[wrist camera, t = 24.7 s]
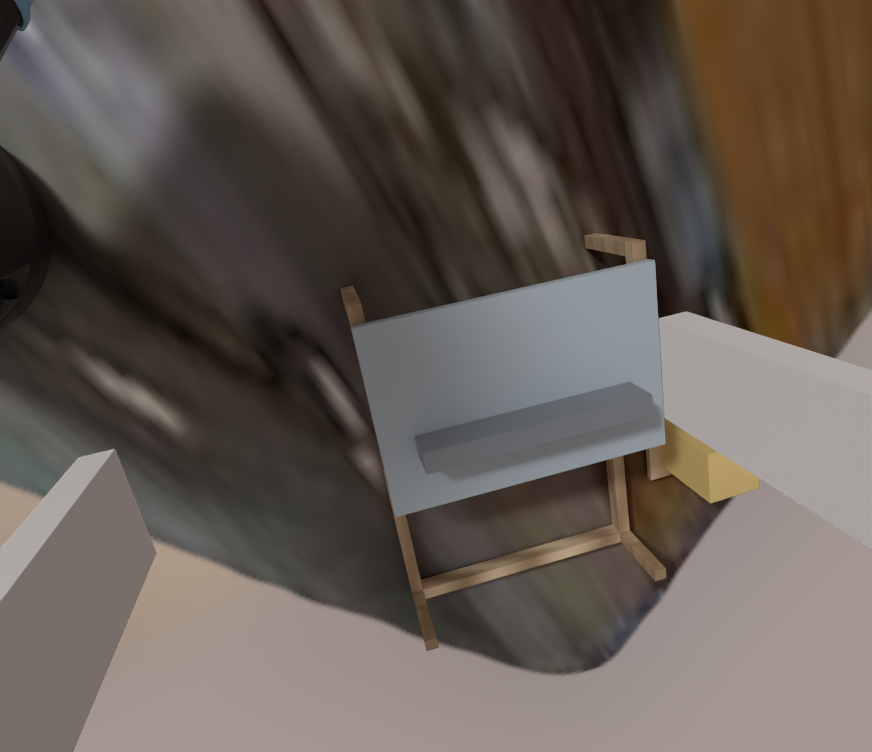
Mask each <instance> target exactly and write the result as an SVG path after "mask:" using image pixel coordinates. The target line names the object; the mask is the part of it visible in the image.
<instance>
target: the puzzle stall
mask: <svg viewBox="0 0 872 752" xmlns="http://www.w3.org/2000/svg"><path fill="white" fill-rule="evenodd" d="M584 237H585V247H586V248H588V249H593V250H598V251H603V252H608V253H612V254H617V255H622V256H626V264H629V263H634V262H638V261H643V260H646V246H645V240H640V239H633V238H626V237H619V236H612V235H605V234H598V233H594V234H590V235H585V236H584ZM340 291H341V295H342V299H343V303H344V306H345V309H346V312H347V315H348V319H349V323H350V327H351V326H353V325H358V324H362V323H365V318H364V314H363V309H362V305H361V302H360V300H359V297H358V295H357V293H356V291H355V289H354V287H353V286H348V287H343V288H340ZM351 332H352V330H351ZM352 336H353V334H352ZM353 340H354V339H353ZM354 344H355V343H354ZM355 349H356V347H355ZM356 353H357V351H356ZM357 357H358V356H357ZM358 361H359V360H358ZM359 366H360V364H359ZM360 370H361V368H360ZM361 374H362V373H361ZM362 378H363V377H362ZM363 383H364V381H363ZM364 387H365V386H364ZM365 391H366V390H365ZM366 395H367V394H366ZM367 400H368V398H367ZM368 404H369V403H368ZM369 408H370V407H369ZM370 412H371V411H370ZM371 417H372V415H371ZM372 421H373V420H372ZM373 425H374V424H373ZM374 429H375V428H374ZM375 434H376V432H375ZM376 438H377V437H376ZM377 442H378V441H377ZM378 446H379V445H378ZM379 451H380V449H379ZM380 455H381V454H380ZM380 460H381V465H382V469H383V473H384V477H385V482H386V486H387V490H388V494H389V498H390V503H391V507H392V511H393V515H394V520H395V524H396V528H397V532H398V537H399V541H400V545H401V549H402V554H403V558H404V562H405V566H406V570H407V575H408V579H409V583H410V587H411V592H412V596H413V599H414V603H415V607H416V611H417V615H418V619H419V623H420V626H421V630H422V634H423V638H424V642H425V646H426V649H427V651H428V650H432V649H435V648H438V647H439V646H438V641H437V637H436V633H435V630H434V626H433V623H432V620H431V616H430V613H429V609H428V606H427V602H426V599H428V598H431V597H435V596H438V595H441V594H445V593H448V592H452V591H455V590H459V589H462V588H465V587H469V586H472V585H476V584H479V583H482V582H486V581H489V580H493V579H496V578H499V577H503V576H506V575H510V574H513V573H517V572H520V571H523V570H527V569H530V568H534V567H537V566H540V565H544V564H547V563H551V562H554V561H558V560H561V559H564V558H568V557H571V556H575V555H578V554H581V553H585V552H588V551H592V550H595V549H598V548H602V547H605V546H609V545H612V544H616V543H619V542H621V543H622V544H623V545H624V546H625V548H626V549H627V550H628V551H629V552H630V553H631V554H632V555H633V557H634V558H635V559H636V560H637V561H638V562H639V563H640V564H641V565H642V567H643V568H644V569H645V570H646V571H647V572H648V573H649V574H650V576H651V577H652V578H653V579H654V580H655V581H658V580H661V579H664V578H666V568H665V567H664V566H663V565H662V564H661V563H660V562H659V561H658V560H657V558H656V557H655V556H654V555H653V554H652V553H651V552H650V551H649V550H648V549H647V548H646V547H645V546H644V545H643V544H642V543H641V542H640V541H639V540H638V538H637V537H636V536H635V535H634V534H633V533H632V532H631V531H630V529H629V517H628V505H627V493H626V482H625V470H624V458H623V456H619V457H616V458H612V459H608V460H606V466H607V477H608V487H609V498H610V508H611V519H612V525H609V526H606V527H602V528H599V529H595V530H592V531H588V532H585V533H581V534H578V535H574V536H571V537H567V538H564V539H560V540H557V541H553V542H550V543H547V544H543V545H540V546H536V547H533V548H529V549H526V550H522V551H519V552H515V553H512V554H508V555H505V556H501V557H498V558H494V559H491V560H488V561H484V562H481V563H477V564H474V565H470V566H467V567H463V568H460V569H456V570H453V571H449V572H446V573H442V574H439V575H435V576H432V577H429V578H425V579H422V580H421V579H420V575H419V570H418V566H417V562H416V557H415V553H414V548H413V544H412V540H411V535H410V531H409V526H408V522H407V518H406V515H402V516H399V517H395V513H394V509H393V505H392V500H391V496H390V492H389V488H388V483H387V479H386V475H385V471H384V466H383V462H382V458H381V457H380Z"/></svg>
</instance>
